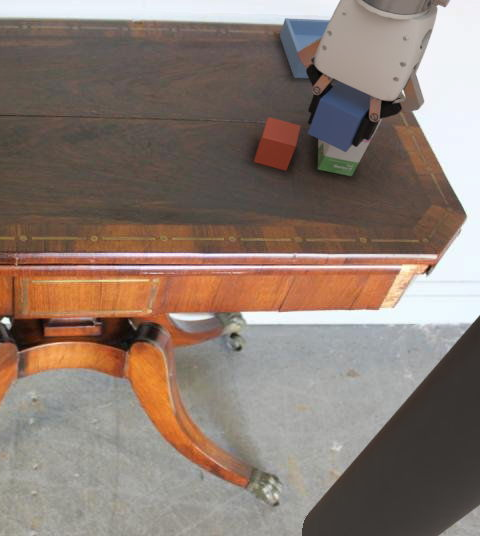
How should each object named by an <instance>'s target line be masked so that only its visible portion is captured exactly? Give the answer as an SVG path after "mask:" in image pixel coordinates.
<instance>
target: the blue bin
mask: <svg viewBox="0 0 480 536" xmlns="http://www.w3.org/2000/svg"><path fill="white" fill-rule="evenodd" d="M329 21H330V19H311V18H310V19H309V18H287V17H285V18H284V21H283V24H282V27H281V31H280V33H279V39H280V42H281V44H282V46H283V50H284V54H285V56H286V59H287V60H288V61H287V63H288V64H289V66H290V70H291V73H292V76H293V78H294V79H309V77H308V75H307V73H306V68H305V67H304V66H303V64H302V63H301V61H300V59H299V58H298V56H297V53H298V52H299V51H300V50H301V49H302V48H303V47H304V46H306V45H308V44H310V43H312V42H314V41H315V40H317V39H319V38H321V37H323V34H324V32H325V30H326V28H327V25H328V23H329Z"/></svg>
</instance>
